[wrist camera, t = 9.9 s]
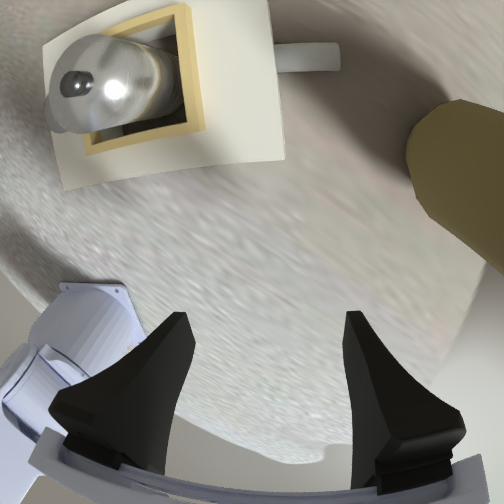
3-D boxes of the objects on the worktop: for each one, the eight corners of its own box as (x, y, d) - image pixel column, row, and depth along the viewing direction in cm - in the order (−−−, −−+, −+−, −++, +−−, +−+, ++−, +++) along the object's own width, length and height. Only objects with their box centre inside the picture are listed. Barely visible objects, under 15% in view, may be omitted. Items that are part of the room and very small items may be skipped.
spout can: (133, 125, 18) (44, 151, 10) (123, 65, 16) (30, 60, 8) (195, 108, 17) (123, 118, 9) (184, 44, 15) (108, 12, 7)
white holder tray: (85, 180, 20) (54, 197, 17) (65, 47, 15) (31, 46, 11) (340, 150, 17) (353, 162, 14) (321, -18, 11) (328, -43, 8)
